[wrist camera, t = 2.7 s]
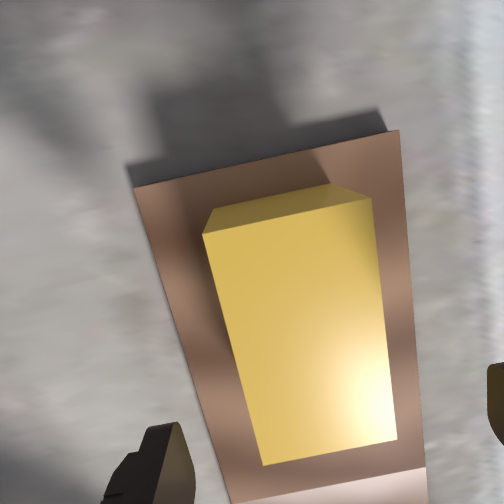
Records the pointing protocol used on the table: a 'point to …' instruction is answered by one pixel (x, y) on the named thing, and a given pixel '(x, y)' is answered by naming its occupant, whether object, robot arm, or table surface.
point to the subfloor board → (218, 342)
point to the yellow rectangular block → (305, 319)
